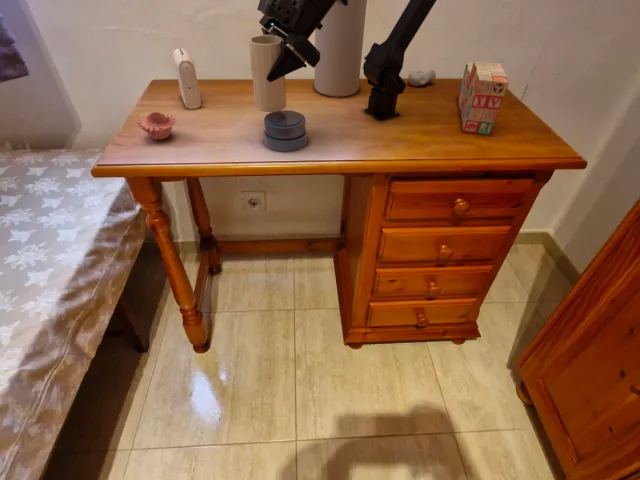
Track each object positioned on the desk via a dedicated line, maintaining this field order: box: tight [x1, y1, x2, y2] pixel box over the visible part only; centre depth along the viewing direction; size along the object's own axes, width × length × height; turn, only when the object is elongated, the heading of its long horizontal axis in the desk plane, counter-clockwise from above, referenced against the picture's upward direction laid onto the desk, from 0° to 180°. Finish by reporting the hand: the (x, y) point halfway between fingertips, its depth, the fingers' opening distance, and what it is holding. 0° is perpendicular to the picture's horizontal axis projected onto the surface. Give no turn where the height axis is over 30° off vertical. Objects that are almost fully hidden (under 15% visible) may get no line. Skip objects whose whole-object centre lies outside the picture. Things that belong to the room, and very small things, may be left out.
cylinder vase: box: [313, 0, 368, 98], centre depth 98 cm, size 12×12×25 cm
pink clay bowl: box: [137, 111, 177, 141], centre depth 81 cm, size 8×8×6 cm
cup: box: [248, 34, 287, 113], centre depth 76 cm, size 7×7×13 cm
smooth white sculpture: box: [407, 68, 437, 87], centre depth 109 cm, size 4×8×5 cm
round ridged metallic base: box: [263, 109, 308, 153], centre depth 81 cm, size 9×9×5 cm
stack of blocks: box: [457, 61, 510, 136], centre depth 92 cm, size 21×6×12 cm, turn 168°
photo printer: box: [172, 47, 202, 110], centre depth 93 cm, size 10×4×12 cm, turn 23°
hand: (262, 74), depth 76 cm, fingers closed on cup, 7 cm apart
